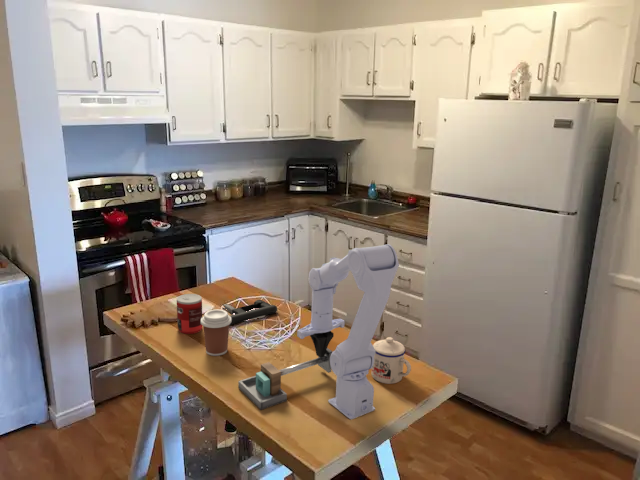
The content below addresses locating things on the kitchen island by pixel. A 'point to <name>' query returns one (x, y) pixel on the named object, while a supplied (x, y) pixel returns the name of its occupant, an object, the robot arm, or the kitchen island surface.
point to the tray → (256, 397)
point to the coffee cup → (216, 331)
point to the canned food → (189, 313)
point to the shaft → (311, 364)
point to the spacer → (263, 384)
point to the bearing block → (272, 377)
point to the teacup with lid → (389, 361)
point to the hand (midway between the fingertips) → (320, 355)
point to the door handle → (253, 314)
